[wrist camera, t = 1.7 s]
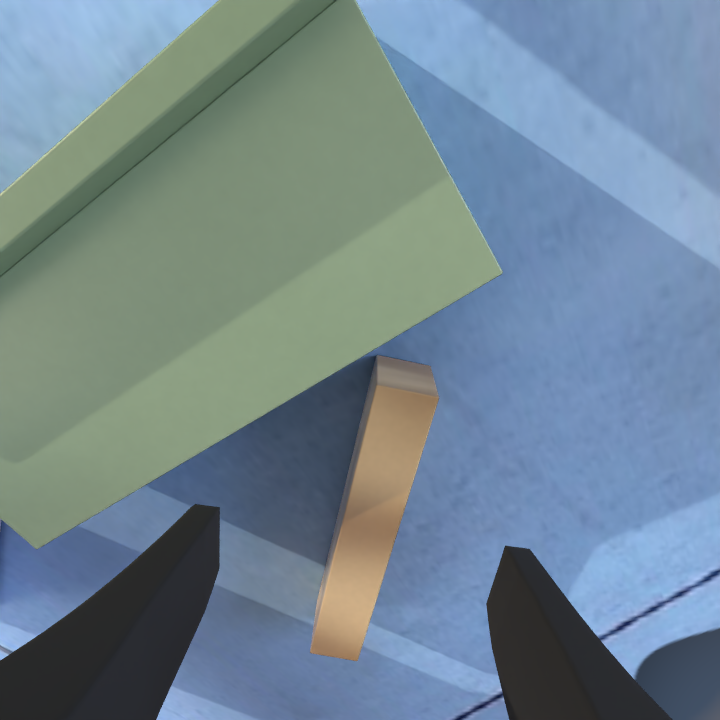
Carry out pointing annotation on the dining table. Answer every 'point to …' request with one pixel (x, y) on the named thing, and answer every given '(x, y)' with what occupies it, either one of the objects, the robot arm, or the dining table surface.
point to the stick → (373, 502)
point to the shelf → (214, 252)
